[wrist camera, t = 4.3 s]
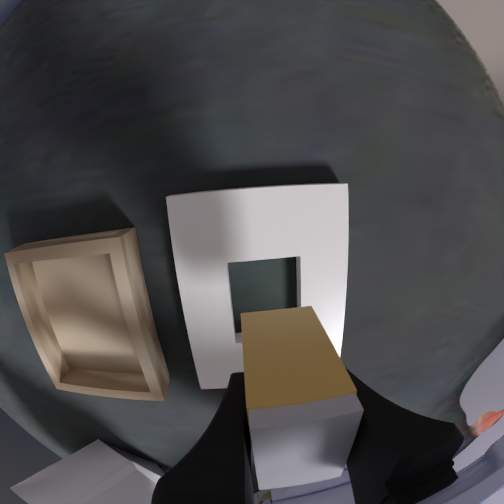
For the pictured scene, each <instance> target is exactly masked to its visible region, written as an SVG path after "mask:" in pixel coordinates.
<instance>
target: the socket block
mask: <svg viewBox="0 0 504 504" xmlns="http://www.w3.org/2000/svg"><path fill="white" fill-rule="evenodd" d="M166 202H167V211H168V219H169V227H170V234H171V241H172V248H173V255H174V261H175V268H176V274H177V280H178V285H179V291H180V297H181V302H182V307H183V312H184V317H185V322H186V327H187V332H188V337H189V341H190V346H191V350H192V355H193V359H194V363H195V367H196V371H197V375H198V379H199V383H200V387H201V389H219V388H227V386H228V383H229V380H230V375H231V374H232V373H235V372H244V363H243V346H242V333H235V325H234V316H233V307H232V299H231V290H230V280H229V271H228V263H229V262H240V261H252V260H263V259H275V258H286V257H296V276H297V307H305V306H312V308H313V310H314V311H315V313H316V315H317V317H318V319H319V320H320V322H321V324H322V326H323V328H324V329H325V331H326V333H327V335H328V337H329V339H330V340H331V342H332V344H333V346H334V348H335V350H336V352H337V353H338V355H339V357H340V354H341V345H342V336H343V326H344V315H345V302H346V287H347V267H348V184H345V183H315V184H292V185H273V186H258V187H245V188H233V189H221V190H211V191H201V192H192V193H183V194H175V195H170V196H167V197H166Z"/></svg>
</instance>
